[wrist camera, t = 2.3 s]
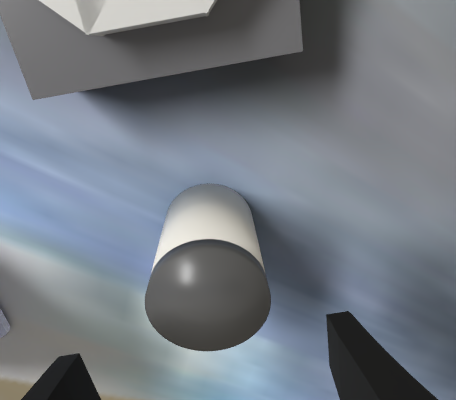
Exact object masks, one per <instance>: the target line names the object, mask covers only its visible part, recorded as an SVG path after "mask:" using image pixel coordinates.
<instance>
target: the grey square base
mask: <svg viewBox="0 0 456 400" xmlns="http://www.w3.org/2000/svg"><path fill="white" fill-rule="evenodd" d="M0 16H1V19H2V21H3V24H4V26H5V29H6V32H7V34H8V37H9V39H10V42H11V45H12V47H13V50H14V52H15V55H16V58H17V60H18V63H19V65H20V68H21V71H22V73H23V76H24V78H25V81H26V84H27V86H28V89H29V91H30V94H31V96H32V99H33V100H35V99H41V98H46V97H52V96H57V95H63V94H68V93H74V92H80V91H85V90H91V89H96V88H102V87H107V86H113V85H119V84H124V83H130V82H135V81H141V80H146V79H152V78H158V77H163V76H169V75H174V74H180V73H185V72H191V71H196V70H202V69H208V68H213V67H219V66H224V65H230V64H235V63H241V62H247V61H252V60H258V59H263V58H269V57H274V56H280V55H286V54H291V53H297V52H302V51H303V43H302V29H301V15H300V1H299V0H0Z"/></svg>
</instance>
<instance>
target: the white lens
mask: <svg viewBox="0 0 456 400" xmlns="http://www.w3.org/2000/svg"><path fill="white" fill-rule="evenodd" d="M270 305H271V296H270V291H269V287H268V282H267V278H266V274H265V269H264V265H263V261H262V256H261V252H260V248H259V243H258V239H257V234H256V230H255V226H254V221H253V217H252V213H251V210H250V207H249V206H248V204H247V202H246V201H245V200H244V198H243V197H242V196H241V195H240V194H238V193H237V192H236V191H234V190H232V189H231V188H228V187H226V186H223V185H219V184H200V185H196V186H193V187H190V188H188V189H186V190H184V191H183V192H181V193H180V194H179V195H178V196H177V197H176V198H175V199H174V200H173V201H172V203H171V204H170V206H169V208H168V211H167V214H166V218H165V222H164V226H163V230H162V234H161V237H160V241H159V245H158V249H157V253H156V257H155V260H154V264H153V268H152V272H151V276H150V280H149V283H148V287H147V291H146V295H145V309H146V313H147V316H148V318H149V321H150V322H151V324H152V326H153V327H154V328H155V329H156V331H157V332H158V333H159V334H160V335H162V336H163V337H164V338H165V339H167V340H168V341H170V342H172V343H174V344H176V345H178V346H181V347H184V348H187V349H191V350H197V351H217V350H223V349H227V348H231V347H234V346H236V345H239V344H241V343H243V342H244V341H246V340H248V339H249V338H250V337H252V336H253V335H254V334H255V333H256V332H257V331H258V330H259V329H260V328H261V327H262V326H263V324H264V322H265V321H266V319H267V317H268V314H269V311H270Z"/></svg>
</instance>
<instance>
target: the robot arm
mask: <svg viewBox="0 0 456 400" xmlns="http://www.w3.org/2000/svg"><path fill="white" fill-rule="evenodd" d="M326 316H327V332H328V347H329V363H330V368H331V372H332V375H333V378H334V382H335V385H336V388H337V391H338V395H339V398H340V400H438V399H437V398H436V397H435V396H433V395H432V394H431V393H430V392H429V391H428V390H427V389H425V388H424V387H423V386H422V385H421V384H420V383H419V382H418V381H417V380H416V379H415V378H413V377H412V376H411V375H410V374H409V373H408V372H407V371H406V370H405V369H404V368H403V367H402V366H401V365H400V364H399V363H398V362H397V361H396V360H395V359H394V358H393V357H392V356H391V355H390V354H389V353H388V352H387V351H386V350H385V349H384V348H383V347H382V346H381V345H380V344H379V343H378V342H377V341H376V340H375V339H374V338H373V337H372V336H371V335H370V334H369V333H368V332H367V330H366V329H365V328H364V327H363V326H362V325H361V324H360V323H359V322H358V321H357V319H356V318H355V317H354V316H353V315H352V314H351V313H350V312H348V311H346V312H340V313H333V314H327V315H326ZM9 330H10V325H9V323H8V321H7V320H6V318H5V316H4V314H3V312H2V310H1V309H0V337H3V336H5V335H6V334H7V333H8V332H9ZM21 400H101V399H100V396H99V394H98V392H97V390H96V388H95V386H94V384H93V382H92V379H91V377H90V375H89V373H88V371H87V369H86V367H85V364H84V362H83V360H82V358H81V356H80V354H72V355H66V356H60V357H58V358H57V359H56V360H55V362H54V363H53V364H52V365H51V366H50V367H49V368H48V369H47V370H46V372H45V373H44V374H43V375H42V376H41V377H40V378H39V380H38V381H37V382H36V383H35V384H34V385H33V386H32V388H31V389H30V390H29V391H28V392H27V393H26V395H25V396H24V397H23V398H22V399H21Z"/></svg>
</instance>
